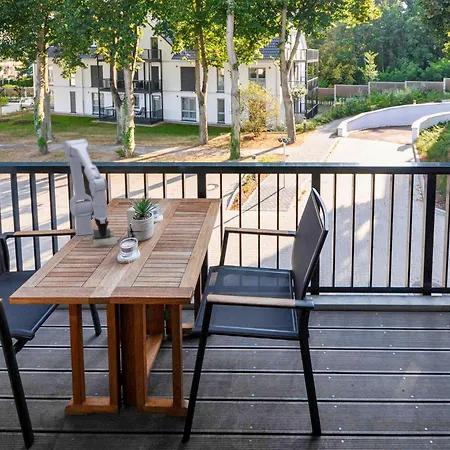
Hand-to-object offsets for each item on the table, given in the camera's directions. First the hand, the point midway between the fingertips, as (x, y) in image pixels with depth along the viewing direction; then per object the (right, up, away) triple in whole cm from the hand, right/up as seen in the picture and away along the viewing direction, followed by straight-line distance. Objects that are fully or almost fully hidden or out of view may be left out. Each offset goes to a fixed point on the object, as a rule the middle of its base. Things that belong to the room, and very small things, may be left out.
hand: (102, 235), depth 285 cm
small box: (+12, +2, +20) cm, 24 cm away
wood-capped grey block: (0, -3, +1) cm, 3 cm away
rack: (-1, -3, +4) cm, 5 cm away
